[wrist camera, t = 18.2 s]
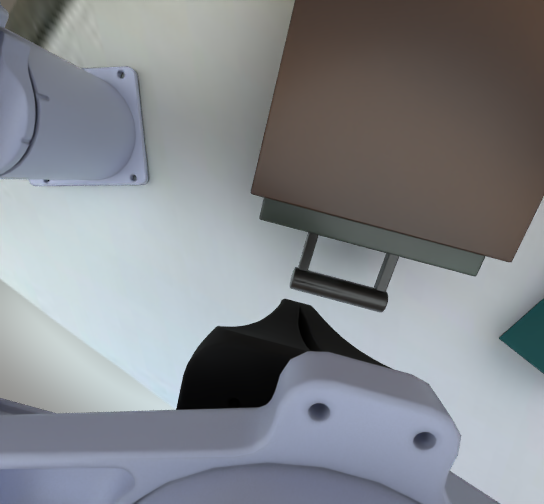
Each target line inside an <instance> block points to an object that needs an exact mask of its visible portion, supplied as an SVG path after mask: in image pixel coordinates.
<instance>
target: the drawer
mask: <svg viewBox="0 0 544 504" xmlns="http://www.w3.org/2000/svg"><path fill="white" fill-rule="evenodd" d="M259 218H260V219H261V220H264V221H268V222H272V223H275V224H279V225H283V226H287V227H290V228H294V229H298V230H302V231H305V232H308V235H307V238H306V241H305V245H304V248H303V252H302V255H301V259H300V262H299V265H298V267H295V268H294V270H293V273H292V277H291V281H290V288H291V289H295V290H298V291H302V292H306V293H310V294H313V295H317V296H321V297H325V298H328V299H332V300H336V301H339V302H343V303H347V304H351V305H354V306H358V307H362V308H366V309H369V310H373V311H377V312H383V311H384V310H385V308H386V306H387V302H388V294H387V292H386V289H387V287H388V284H389V282H390V279H391V276H392V274H393V271H394V268H395V266H396V263H397V261H398V258H399V256H400V257H403V258H407V259H411V260H415V261H418V262H422V263H426V264H430V265H433V266H437V267H441V268H445V269H448V270H452V271H456V272H460V273H463V274H467V275H471V276H476V275H477V273H478V271H479V269H480V267H481V265H482V262H483V260H484V258H485V256H483V255H480V254H476V253H472V252H468V251H465V250H461V249H457V248H453V247H450V246H446V245H442V244H438V243H434V242H431V241H427V240H423V239H419V238H416V237H412V236H408V235H404V234H400V233H397V232H393V231H389V230H385V229H382V228H378V227H374V226H370V225H367V224H363V223H359V222H355V221H351V220H348V219H344V218H340V217H336V216H333V215H329V214H325V213H321V212H317V211H314V210H310V209H306V208H302V207H299V206H295V205H291V204H287V203H283V202H280V201H276V200H272V199H268V198H265V197H264V200H263V204H262V208H261V212H260V217H259ZM318 235H320V236H324V237H328V238H332V239H336V240H339V241H343V242H347V243H351V244H354V245H358V246H362V247H366V248H369V249H373V250H377V251H381V252H384V253H386V256H385V258H384V261H383V264H382V266H381V269H380V272H379V275H378V277H377V280H376V283H375V285H374V287H375V288H373V287H369V286H365V285H361V284H358V283H354V282H350V281H346V280H343V279H339V278H335V277H331V276H328V275H324V274H320V273H316V272H313V271H309V270H308V268H309V265H310V261H311V258H312V255H313V251H314V248H315V245H316V242H317V238H318Z"/></svg>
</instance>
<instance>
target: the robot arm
mask: <svg viewBox="0 0 544 504" xmlns="http://www.w3.org/2000/svg"><path fill="white" fill-rule="evenodd" d="M0 3H1V2H0ZM8 18H9V14H8V12H7V10H6V9H5V8H4V7H2V6H1V5H0V179H28V180H29V182H30V183H31V184H32V185H33V186H81V185H144V184H146V183H147V182H148V170H147V160H146V151H145V142H144V132H143V123H142V114H141V105H140V95H139V86H138V77H137V73H136V71H135V70H134V69H132V68H131V67H128V66H126V67H102V68H79V67H77V66H76V65H74V64H72V63H70V62H68V61H66V60H64V59H62V58H60V57H59V56H57V55H55V54H53V53H51V52H49V51H47V50H45V49H44V48H42V47H40V46H38V45H36V44H34V43H32V42H30V41H29V40H27V39H25V38H23V37H21V36H19V35H17V34H15V33H14V32H12V31H10V30H8V29H6V28H4V27H5V25H6V22H7V20H8ZM123 72H124V74H125V76H124V78H122V79H121V74H122V73H123ZM134 175H135V176H136V177H137V180H136V181H134V180H133V176H134ZM47 179H48V180H49V182H48V180H47ZM460 440H461V434H460V433H459V431H458V429H457V427H456V425H455V423H454V421H453V420H452V418H451V416H450V415H449V413H448V412H447V410H446V409H445V407H444V406H443V404H442V403H441V401H440V400H439V398H438V397H437V395H436V394H435V392H434V391H433V389H432V388H431V386H430V385H429V384H428V383H426V382H424V381H423V380H421V379H419V378H417V377H415V376H414V375H412V374H408V373H405V372H401V371H397V370H394V369H392V368H390V367H388V366H385V365H383V364H381V363H380V362H378V361H376V360H374V359H372V358H371V357H369V356H367V355H366V354H364V353H362V352H361V351H359V350H358V349H356V348H355V347H354V346H352V345H351V344H350V343H348V342H347V341H346V340H345V339H343V338H342V337H341V336H340V335H339V334H338V333H337V332H336V331H335V330H333V329H332V328H331V327H330V326H329V324H328V323H327V322H326V321H325V320H324V319H323V318H322V317H321V316H320V315H319V314H318V312H317V311H316V310H315V309H314V308H313V307H312V306H310V305H307V304H303V303H299V302H295V301H292V300H288V299H283V300H281V303H280V305H279V306H278V307H277V308H276V309H275V310H274V311H273V312H272V313H271V314H269V315H268V316H267V317H265V318H264V319H262V320H260V321H258V322H255V323H252V324H249V325H245V326H237V327H223V326H217V327H216V328H215V329H214V330H213V331H212V332H211V333H210V334H209V335H208V336H207V337H206V338H205V339H204V340H203V341H202V343H201V344H200V345H199V346H198V348H197V349H196V351H195V352H194V354H193V356H192V357H191V359H190V361H189V362H188V364H187V367H186V369H185V372H184V375H183V380H182V384H181V389H180V394H179V399H178V404H177V409H176V410H157V411H124V412H88V413H53V412H50V411H46V410H42V409H39V408H35V407H31V406H28V405H24V404H21V403H17V402H13V401H10V400H6V399H2V398H0V504H500V503H498V502H497V501H495V500H494V499H492V498H491V497H489V496H488V495H486V494H485V493H483V492H482V491H480V490H478V489H477V488H475V487H474V486H472V485H471V484H469V483H468V482H466V481H465V480H463V479H462V478H460V477H459V476H457V475H455V474H454V473H452V472H451V471H450V469H451V467H452V465H453V463H454V461H455V459H456V457H457V456H458V451H459V446H460Z"/></svg>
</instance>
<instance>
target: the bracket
mask: <svg viewBox="0 0 544 504" xmlns="http://www.w3.org/2000/svg"><path fill="white" fill-rule="evenodd" d="M499 339H500V340H501V341H503V342H504V343H505V344H507V345H508V346H509V347H510V348H512V349H513V350H514V351H515V352H517V353H518V354H519V355H521V356H522V357H523V358H524V359H526V360H527V361H528V362H529V363H531V364H532V365H533V366H534V367H536V368H537V369H538V370H540V371H541V372H542V373H543V374H544V299H543V300H541V301H540V302H539V303H538V304H537V305H536V306H535V307H534V308H532V309H531V310H530V311H529V312H528V313H527V314H526V315H525V316H523V317H522V318H521V319H520V320H519V321H518V322H517V323H516V324H514V325H513V326H512V327H511V328H510V329H509V330H508V331H507V332H505V333H504V334H503V335H502V336H501V337H500V338H499Z"/></svg>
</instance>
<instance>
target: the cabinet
mask: <svg viewBox="0 0 544 504" xmlns="http://www.w3.org/2000/svg"><path fill="white" fill-rule="evenodd" d="M251 194H253V195H257V196H261V197H265V198H268V199H272V200H276V201H280V202H283V203H287V204H291V205H295V206H299V207H302V208H306V209H310V210H314V211H317V212H321V213H325V214H329V215H333V216H336V217H340V218H344V219H348V220H351V221H355V222H359V223H363V224H367V225H370V226H374V227H378V228H382V229H385V230H389V231H393V232H397V233H400V234H404V235H408V236H412V237H416V238H419V239H423V240H427V241H431V242H434V243H438V244H442V245H446V246H450V247H453V248H457V249H461V250H465V251H468V252H472V253H476V254H480V255H483V256H487V257H491V258H495V259H499V260H502V261H506V262H512V260H513V258H514V256H515V254H516V252H517V250H518V248H519V246H520V244H521V242H522V240H523V238H524V236H525V233H526V231H527V229H528V227H529V225H530V223H531V221H532V219H533V217H534V215H535V213H536V211H537V209H538V207H539V205H540V203H541V201H542V198H543V196H544V0H295V4H294V8H293V12H292V17H291V21H290V25H289V29H288V34H287V38H286V42H285V47H284V51H283V55H282V60H281V64H280V68H279V72H278V77H277V81H276V85H275V90H274V94H273V98H272V103H271V107H270V111H269V116H268V120H267V124H266V128H265V133H264V137H263V141H262V146H261V150H260V154H259V159H258V163H257V167H256V172H255V176H254V180H253V184H252V189H251Z"/></svg>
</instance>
